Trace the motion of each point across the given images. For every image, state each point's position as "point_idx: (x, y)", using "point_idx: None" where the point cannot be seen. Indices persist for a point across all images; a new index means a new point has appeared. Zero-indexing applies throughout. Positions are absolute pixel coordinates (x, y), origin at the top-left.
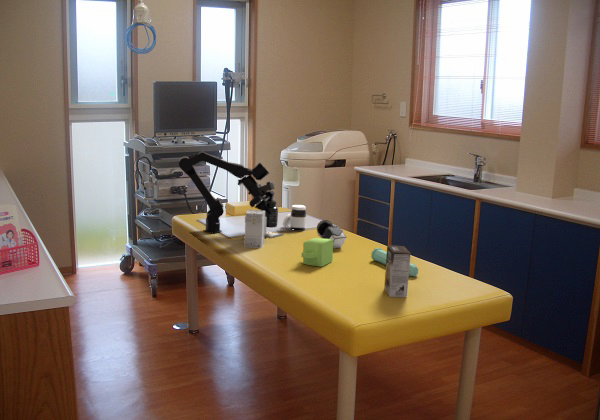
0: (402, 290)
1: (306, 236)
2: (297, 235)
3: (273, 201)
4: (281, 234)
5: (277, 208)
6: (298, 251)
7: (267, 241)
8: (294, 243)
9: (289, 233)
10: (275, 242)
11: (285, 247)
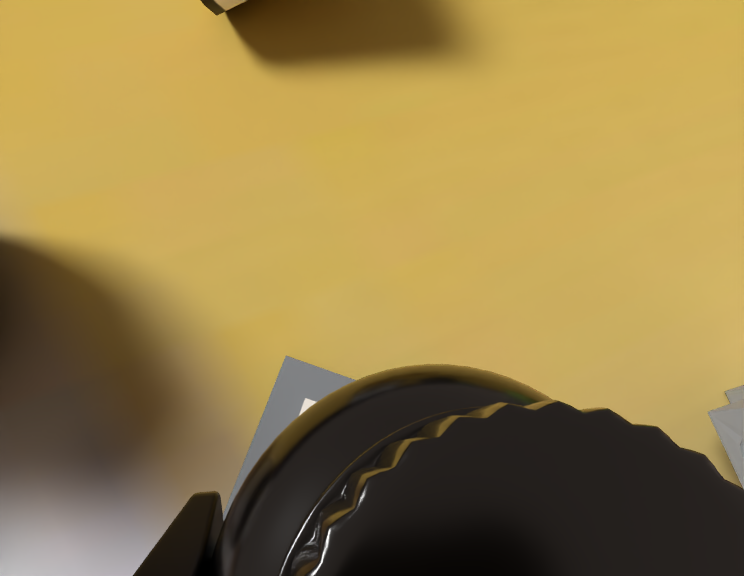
0: None
1: (219, 136)
2: (221, 223)
3: (602, 531)
4: (310, 374)
5: (409, 373)
6: (716, 68)
7: (635, 398)
8: (534, 155)
9: (168, 330)
10: (615, 313)
11: (694, 179)
